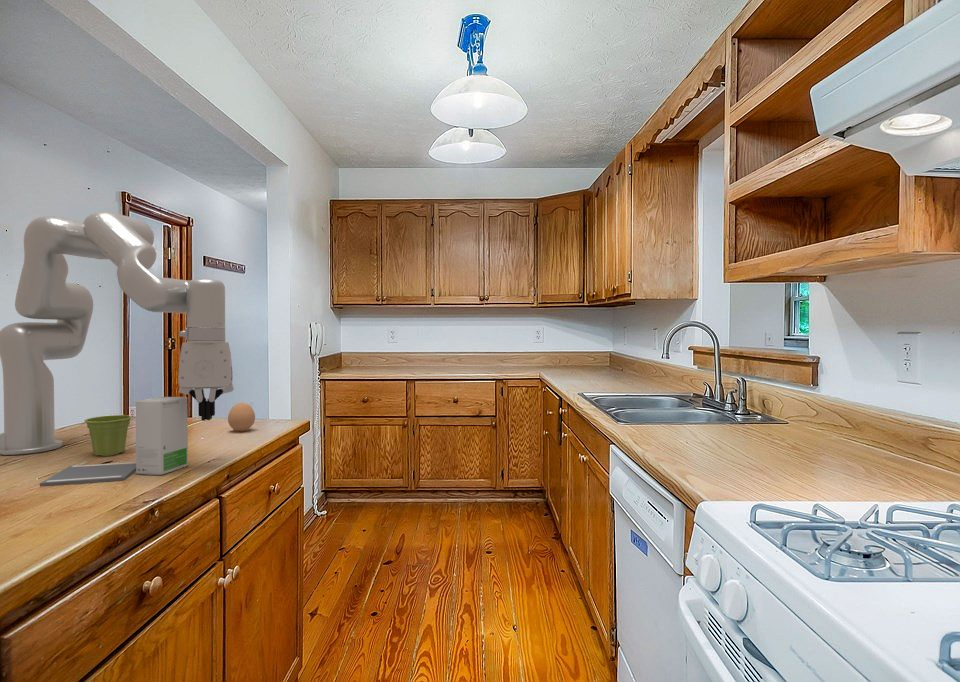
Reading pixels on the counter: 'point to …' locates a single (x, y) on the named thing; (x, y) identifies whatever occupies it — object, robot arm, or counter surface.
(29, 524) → the counter surface
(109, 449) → the plant pot
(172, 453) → the skincare box
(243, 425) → the egg
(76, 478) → the mat
